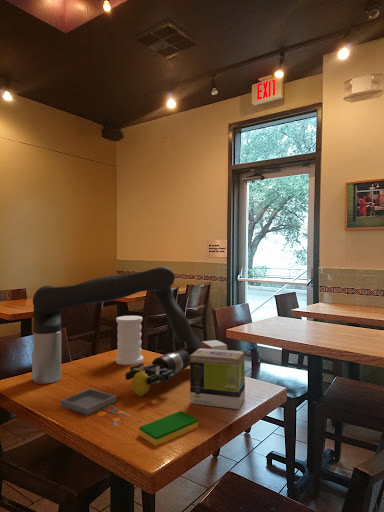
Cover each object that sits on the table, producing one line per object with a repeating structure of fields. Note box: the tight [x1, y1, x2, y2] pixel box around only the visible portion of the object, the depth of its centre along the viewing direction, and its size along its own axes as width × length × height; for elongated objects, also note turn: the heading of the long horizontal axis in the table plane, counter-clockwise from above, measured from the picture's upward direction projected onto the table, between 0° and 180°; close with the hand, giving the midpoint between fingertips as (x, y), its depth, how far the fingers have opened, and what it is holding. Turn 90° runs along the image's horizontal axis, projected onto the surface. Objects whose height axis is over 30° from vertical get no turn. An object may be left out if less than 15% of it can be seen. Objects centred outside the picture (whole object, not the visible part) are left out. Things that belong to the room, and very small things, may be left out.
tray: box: [60, 387, 117, 417], centre depth 108 cm, size 11×11×2 cm
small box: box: [201, 339, 228, 350], centre depth 130 cm, size 8×6×13 cm
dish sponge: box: [138, 410, 199, 446], centre depth 92 cm, size 7×14×2 cm, turn 133°
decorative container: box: [114, 315, 144, 366], centre depth 152 cm, size 12×12×18 cm
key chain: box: [96, 404, 132, 427], centre depth 101 cm, size 13×7×1 cm, turn 41°
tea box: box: [189, 348, 246, 410], centre depth 111 cm, size 15×10×15 cm
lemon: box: [131, 371, 151, 397], centre depth 114 cm, size 6×6×8 cm
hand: (136, 379), depth 112 cm, fingers open, 8 cm apart
